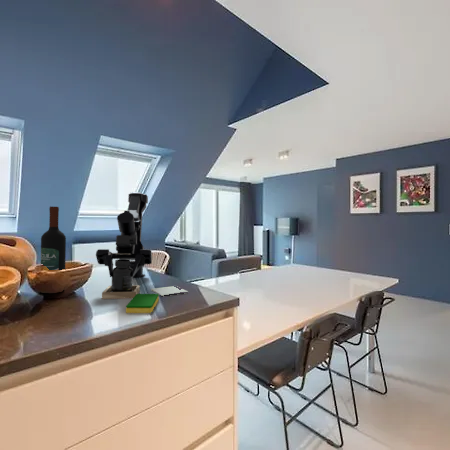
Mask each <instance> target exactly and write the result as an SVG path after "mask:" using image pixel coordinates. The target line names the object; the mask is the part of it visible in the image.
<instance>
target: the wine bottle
mask: <svg viewBox="0 0 450 450" xmlns="http://www.w3.org/2000/svg"><path fill="white" fill-rule="evenodd" d="M48 209H49V210H48V211H49V224H48V225H49V227H48V230H46V231H45V232H44V233H43V234H42V235H41V238H40V265H41V264H43V265H44V266H46V267H47V268H48V269H49V270H62V269H65V270H66V257H67V256H66V255H67V254H66V253H67V250H66V248H67V246H66V245H67V243H66V242H67V240H66V239H67V237H66V235H65V233H64V232H62V231H61V230H60V228H59V211H60V207H59V206H49V208H48Z"/></svg>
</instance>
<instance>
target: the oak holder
mask: <svg viewBox="0 0 450 450" xmlns="http://www.w3.org/2000/svg"><path fill="white" fill-rule="evenodd" d="M140 286H141V285H140V284H136V285H134V284H132V292H111V288H112V285H108V286H107V287H106V288H105V289H104V290H103V291H102V292H101V299H102V300H112V299H113V300H114V299H115V300H118V299H119V300H120V299H122V300H123V299H133V298H134V297H135V295H136V294H140V291H141V288H140Z"/></svg>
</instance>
